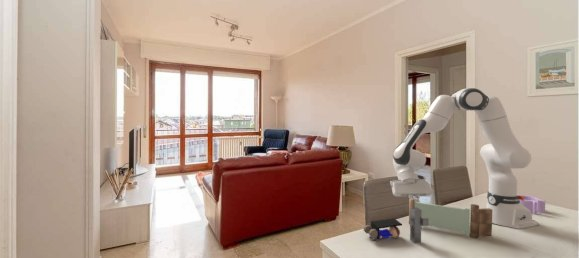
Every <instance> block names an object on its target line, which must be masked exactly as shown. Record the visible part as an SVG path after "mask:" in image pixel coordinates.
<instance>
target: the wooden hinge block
mask: <svg viewBox="0 0 579 258" xmlns="http://www.w3.org/2000/svg"><path fill="white" fill-rule="evenodd" d="M492 235H493V223H492V209H490V208H486V207H485V208H480V205H479V204H475V203H474V204H473V203H471V204H470V224H469V237H470V238H472V239H479V238H486V237H487V238H488V237H492Z"/></svg>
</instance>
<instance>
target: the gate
mask: <svg viewBox="0 0 579 258" xmlns="http://www.w3.org/2000/svg"><path fill="white" fill-rule="evenodd" d="M408 199H409V198H408ZM414 199H415V198H414ZM414 199H409V200H408V204H409V205H408V208H409V209H408V224H409V225H410V213H411V208H415V207H417V208H419V209H421V210H422V215H421V218H428V219H429V220H428V226H429V227H435V228H439V229H446V230H452V231H456V232H462V233H464V234H466V235H470V214H471V208H468V207H467V208H460V207H453V206H446V205H439V204H434V203H433V204H432V203H426V202H421V201H420V202H415V200H414Z"/></svg>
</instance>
